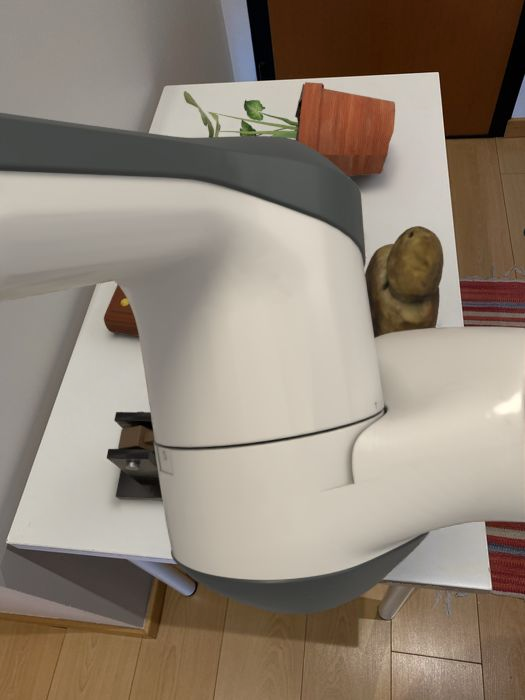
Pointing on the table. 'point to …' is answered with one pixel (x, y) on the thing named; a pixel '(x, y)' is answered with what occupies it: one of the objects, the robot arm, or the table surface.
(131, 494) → the black lever stand
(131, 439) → the lever
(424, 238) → the brown lumpy potato
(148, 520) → the table surface
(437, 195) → the table surface
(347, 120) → the potted plant
